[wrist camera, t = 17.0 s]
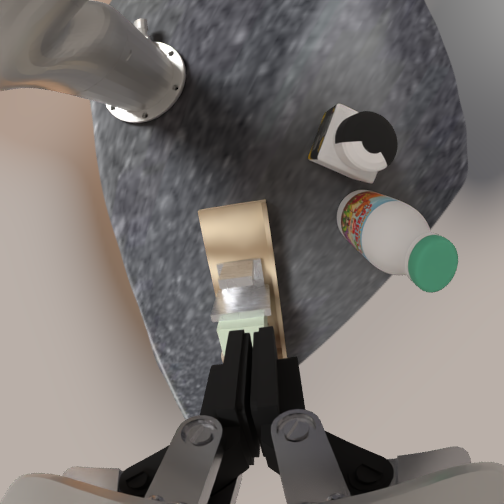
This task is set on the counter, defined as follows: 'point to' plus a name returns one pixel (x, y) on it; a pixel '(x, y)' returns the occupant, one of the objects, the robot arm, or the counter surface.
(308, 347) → the counter surface
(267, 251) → the panel
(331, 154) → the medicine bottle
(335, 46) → the counter surface
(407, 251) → the milk bottle
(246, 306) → the bookend
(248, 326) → the pale green block
